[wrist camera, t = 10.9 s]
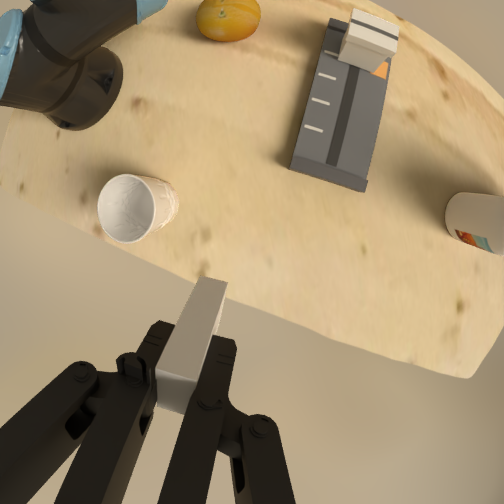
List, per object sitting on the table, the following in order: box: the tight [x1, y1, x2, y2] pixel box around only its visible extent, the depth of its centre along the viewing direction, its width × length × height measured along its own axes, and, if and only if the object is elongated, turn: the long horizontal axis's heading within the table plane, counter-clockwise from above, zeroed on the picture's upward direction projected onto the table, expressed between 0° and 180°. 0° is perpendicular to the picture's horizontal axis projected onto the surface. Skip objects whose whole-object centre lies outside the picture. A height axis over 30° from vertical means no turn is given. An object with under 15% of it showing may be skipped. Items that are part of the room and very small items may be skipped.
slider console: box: [289, 18, 391, 192], centre depth 32 cm, size 24×10×3 cm, turn 165°
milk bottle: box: [445, 192, 504, 256], centre depth 26 cm, size 8×8×20 cm
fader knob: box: [338, 8, 399, 73], centre depth 26 cm, size 5×6×8 cm
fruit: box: [196, 0, 261, 42], centre depth 29 cm, size 9×8×8 cm
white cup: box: [97, 174, 179, 244], centre depth 34 cm, size 8×8×10 cm
